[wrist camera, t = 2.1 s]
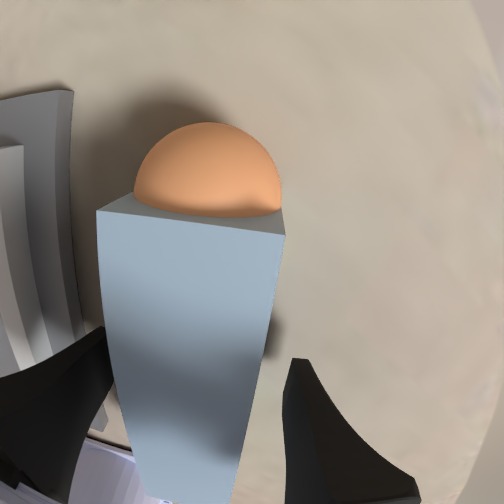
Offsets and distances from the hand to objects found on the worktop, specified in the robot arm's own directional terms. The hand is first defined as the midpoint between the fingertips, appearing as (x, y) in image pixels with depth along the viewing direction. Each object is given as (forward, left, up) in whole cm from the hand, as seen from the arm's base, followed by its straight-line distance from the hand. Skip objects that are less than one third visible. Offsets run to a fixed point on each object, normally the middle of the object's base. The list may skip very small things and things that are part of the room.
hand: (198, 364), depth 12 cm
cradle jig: (+1, +12, -1) cm, 12 cm away
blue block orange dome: (0, 0, -2) cm, 2 cm away
